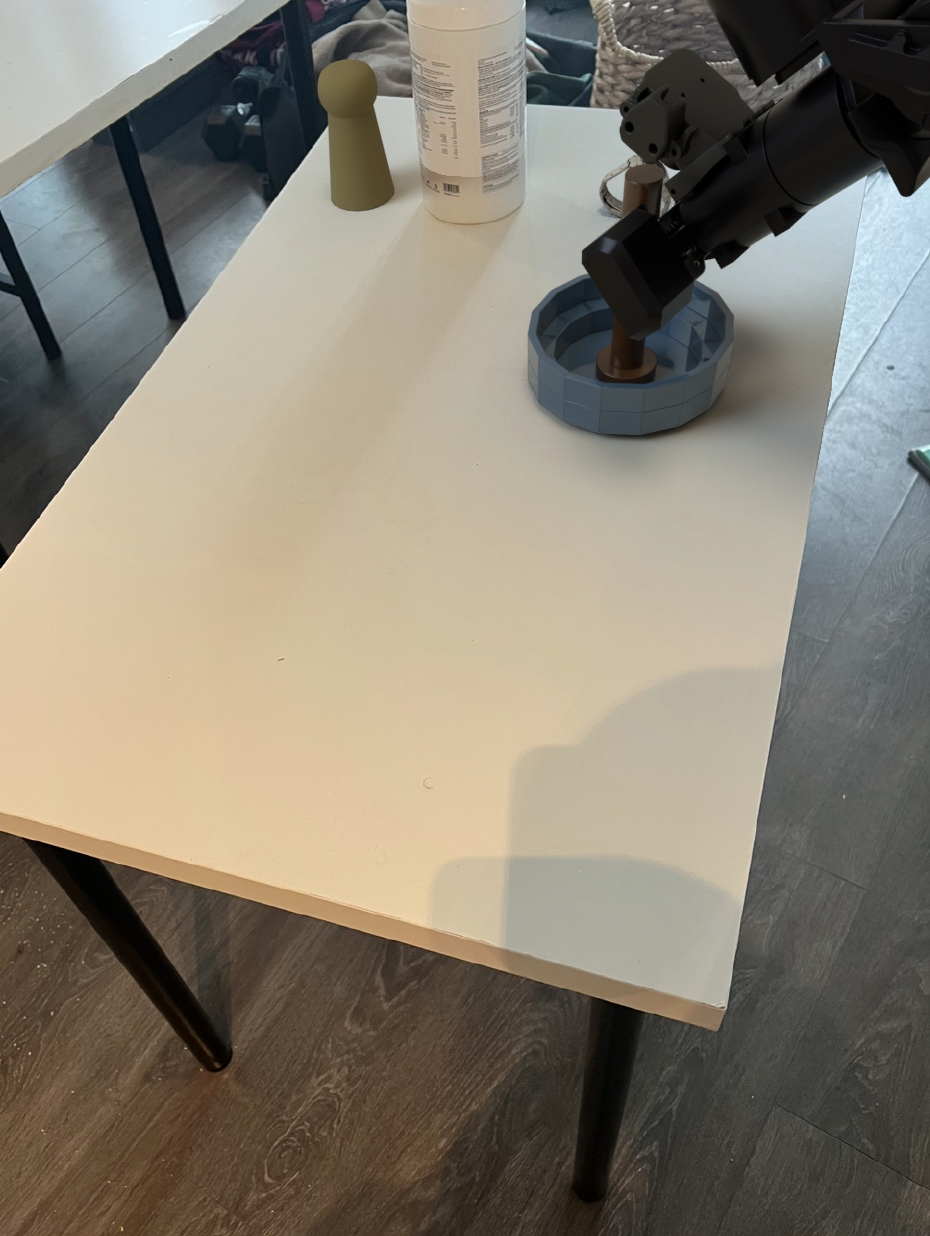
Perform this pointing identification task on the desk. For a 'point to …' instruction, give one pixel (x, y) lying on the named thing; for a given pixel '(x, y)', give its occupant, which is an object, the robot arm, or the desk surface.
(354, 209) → the olive pawn
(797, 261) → the desk surface
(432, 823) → the desk surface
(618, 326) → the brown cylinder with base
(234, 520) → the desk surface
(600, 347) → the bowl
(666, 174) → the wristwatch
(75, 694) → the desk surface
